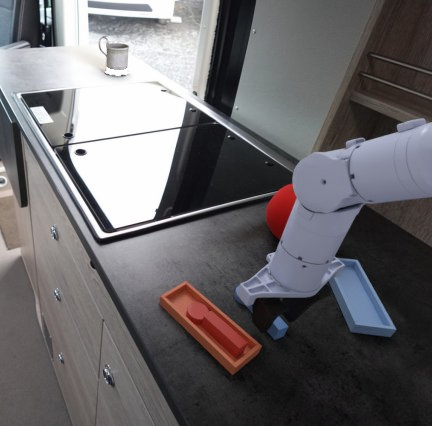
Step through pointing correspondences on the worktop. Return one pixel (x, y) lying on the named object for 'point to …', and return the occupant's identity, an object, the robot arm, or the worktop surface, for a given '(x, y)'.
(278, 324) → the blue spoon
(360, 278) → the blue rest
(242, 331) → the orange tray
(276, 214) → the tomato
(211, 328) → the red spoon
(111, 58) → the mug
